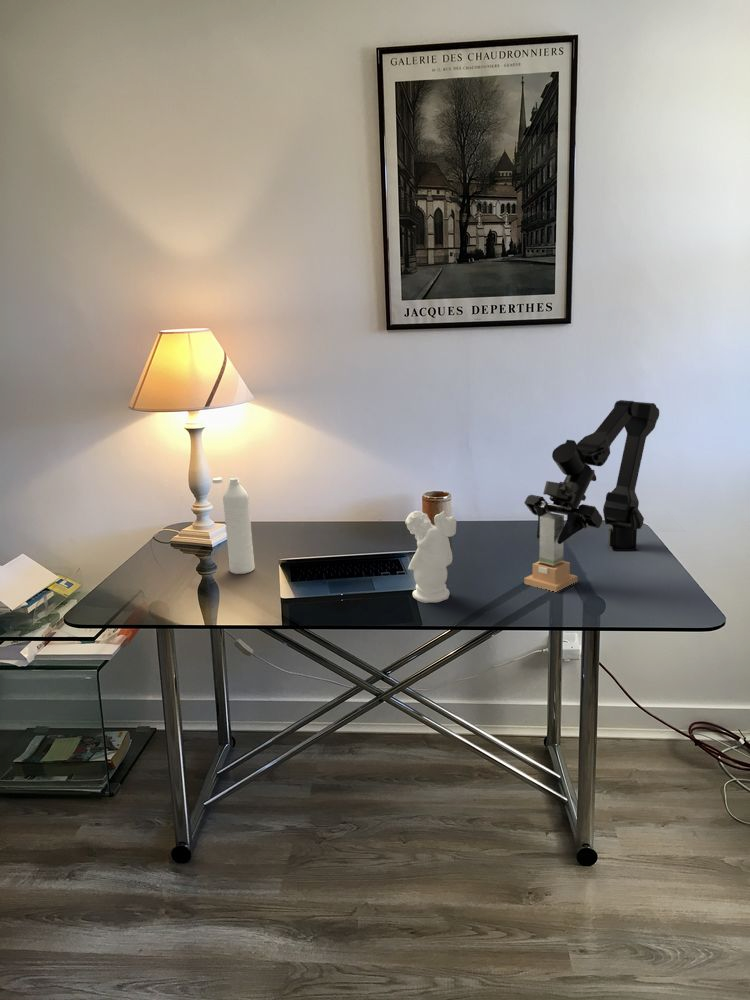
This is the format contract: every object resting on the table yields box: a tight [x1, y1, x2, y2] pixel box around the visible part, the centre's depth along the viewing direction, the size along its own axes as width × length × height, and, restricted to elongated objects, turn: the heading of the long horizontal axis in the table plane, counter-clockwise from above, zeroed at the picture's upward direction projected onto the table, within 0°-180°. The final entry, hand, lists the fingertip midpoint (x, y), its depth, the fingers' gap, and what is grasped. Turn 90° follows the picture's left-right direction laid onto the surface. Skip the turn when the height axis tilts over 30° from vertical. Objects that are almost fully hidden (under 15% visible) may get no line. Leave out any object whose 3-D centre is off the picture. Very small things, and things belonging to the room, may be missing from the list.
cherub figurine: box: [405, 510, 457, 604], centre depth 184 cm, size 12×12×22 cm
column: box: [538, 512, 565, 566], centre depth 188 cm, size 4×4×11 cm
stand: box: [523, 560, 579, 593], centre depth 190 cm, size 9×9×5 cm
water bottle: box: [212, 477, 256, 575], centre depth 206 cm, size 9×6×25 cm
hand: (548, 540), depth 187 cm, fingers open, 5 cm apart
